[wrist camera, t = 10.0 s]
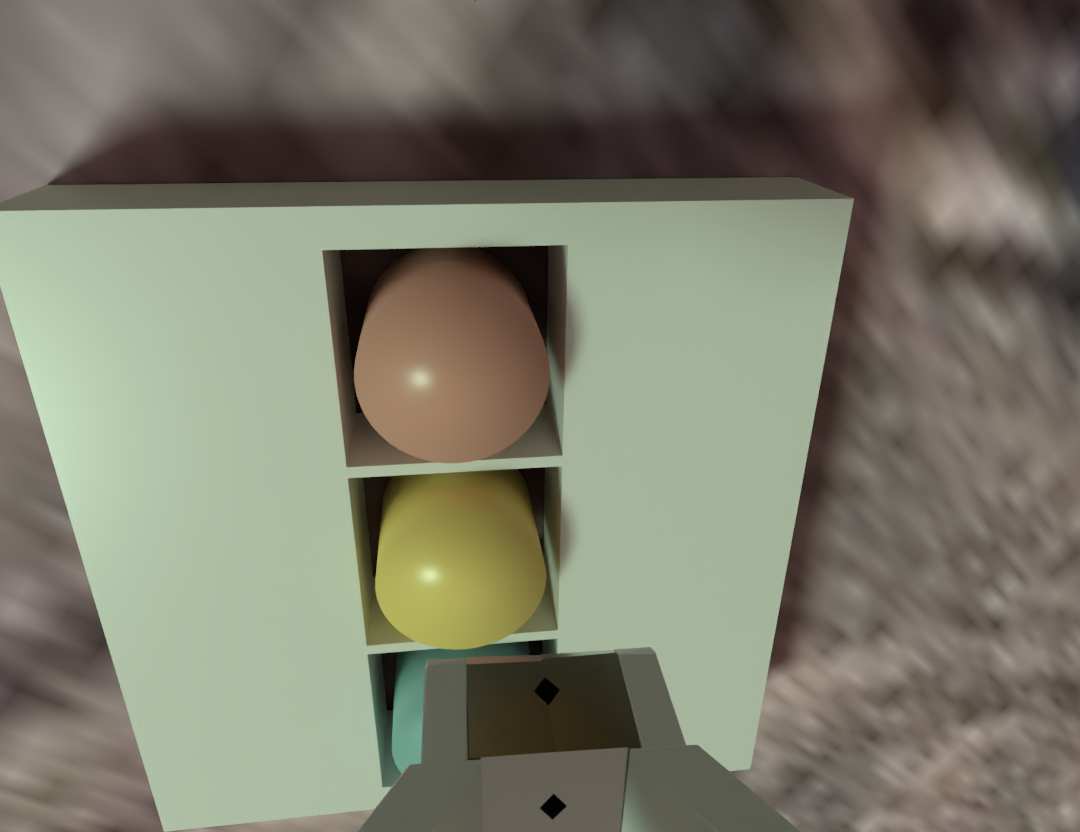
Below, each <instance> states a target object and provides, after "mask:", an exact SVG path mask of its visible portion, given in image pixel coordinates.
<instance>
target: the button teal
mask: <svg viewBox="0 0 1080 832" xmlns="http://www.w3.org/2000/svg"><path fill="white" fill-rule="evenodd" d="M524 655H531V654H530V649H529V643H528V641H522V642H510V643H498V644H488V645H485V646H481V647H477V648H471V649H458V650H452V649H441V648H438V649H426V650H414V651H402V652H396V667H395V688H394V708H393V729H392V755H393V759H394V762H395V764H396V766H397V768H398V769H399V771H400V772H401V773H403V772H404V770H405V769H406V768H407V767H408V765H410V764H421V749H422V726H423V702H424V679H425V666H426V662H427V659H463V658H465V661H466V657H493V656H524ZM466 688H467V671H466Z"/></svg>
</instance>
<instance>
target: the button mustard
mask: <svg viewBox="0 0 1080 832" xmlns="http://www.w3.org/2000/svg"><path fill="white" fill-rule="evenodd" d="M545 586H546V567H545V563H544V559H543V554H542V550H541V545H540V541H539V536H538V532H537V527H536V523H535V519H534V514H533V510H532V505H531V501H530V496H529V492H528V488H527V485H526V482H525V480H524V478H523V476H522V474H521V473H520V471H519V470H518V469H505V470H487V471H469V472H452V473H434V474H416V475H398V476H392V477H391V479H390V480H389V482H388V485H387V487H386V490H385V493H384V497H383V504H382V514H381V525H380V536H379V546H378V557H377V568H376V578H375V591H376V596H377V600H378V603H379V606H380V608H381V610H382V612H383V614H384V615H385V617H386V618H387V619H388V621H389V622H390V623H391V624H392V625H393V626H394V627H395V628H396V629H397V630H398V631H400V632H401V633H402V634H404V635H405V636H407V637H409V638H410V639H412V640H414V641H416V642H419V643H421V644H424V645H427V646H431V647H435V648H441V649H452V650H458V649H471V648H477V647H481V646H485V645H488V644H491V643H494V642H497V641H499V640H501V639H503V638H505V637H507V636H508V635H510V634H512V633H513V632H515V631H516V630H517V629H519V628H520V627H521V626H522V625H523V624H524V623H526V622H527V621H528V620H529V618H530V617H531V616H532V615H533V613H534V612H535V611H536V609H537V607H538V606H539V604H540V602H541V599H542V597H543V594H544V590H545Z"/></svg>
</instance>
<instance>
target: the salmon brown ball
mask: <svg viewBox="0 0 1080 832" xmlns="http://www.w3.org/2000/svg"><path fill="white" fill-rule="evenodd" d="M549 378H550V369H549V359H548V354H547V350H546V347H545V344H544V341H543V339H542V336H541V334H540V331H539V328H538V326H537V323H536V321H535V318H534V315H533V313H532V310H531V308H530V305H529V302H528V300H527V297H526V295H525V292H524V290H523V288H522V286H521V284H520V283H519V281H518V280H517V278H516V277H515V275H514V274H513V273H512V272H511V271H510V270H509V269H508V267H507V266H505V265H504V264H503V263H502V262H501V261H499V260H498V259H497V258H495V257H493V256H492V255H490V254H489V253H486V252H484V251H482V250H480V249H477V248H474V247H454V248H418V249H415V250H413V251H411V252H409V253H407V254H405V255H403V256H402V257H400V258H399V259H397V260H396V261H395V262H393V263H392V264H391V265H390V266H389V267H388V268H387V269H386V270H385V271H384V272H383V274H382V275H381V276H380V277H379V279H378V281H377V282H376V284H375V286H374V287H373V290H372V292H371V294H370V297H369V300H368V304H367V308H366V313H365V317H364V322H363V326H362V331H361V335H360V340H359V344H358V349H357V353H356V358H355V366H354V384H355V389H356V395H357V398H358V401H359V404H360V406H361V408H362V410H363V413H364V415H365V416H366V418H367V419H368V421H369V422H370V424H371V425H372V427H373V428H374V429H375V430H376V431H377V432H378V433H379V435H381V436H382V437H383V438H384V439H385V440H386V441H387V442H389V443H390V444H391V445H393V446H394V447H396V448H397V449H399V450H401V451H403V452H405V453H407V454H409V455H411V456H414V457H417V458H419V459H423V460H427V461H431V462H438V463H464V462H471V461H475V460H480V459H483V458H486V457H489V456H491V455H494V454H496V453H498V452H500V451H502V450H504V449H505V448H507V447H508V446H510V445H511V444H513V443H514V442H515V441H516V440H518V439H519V438H520V437H521V436H522V435H523V434H524V433H525V432H526V431H527V430H528V429H529V428H530V427H531V425H532V424H533V422H534V421H535V420H536V418H537V416H538V415H539V413H540V411H541V409H542V407H543V404H544V402H545V399H546V396H547V392H548V387H549Z"/></svg>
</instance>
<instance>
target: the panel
mask: <svg viewBox="0 0 1080 832" xmlns="http://www.w3.org/2000/svg"><path fill="white" fill-rule="evenodd" d="M853 202H854V198H851V197H848V196H846V195H843V194H840V193H838V192H835V191H832V190H830V189H827V188H825V187H822V186H819V185H817V184H814V183H811V182H809V181H806V180H803V179H801V178H798V177H750V178H657V179H564V180H471V181H378V182H285V183H192V184H99V185H44V186H42V187H39V188H37V189H34V190H31V191H29V192H26V193H24V194H21V195H19V196H16V197H13V198H11V199H8V200H6V201H3V202H1V203H0V287H1V290H2V293H3V297H4V300H5V303H6V307H7V310H8V313H9V317H10V320H11V323H12V327H13V330H14V333H15V337H16V340H17V343H18V347H19V350H20V353H21V357H22V360H23V363H24V367H25V370H26V373H27V377H28V380H29V383H30V387H31V390H32V393H33V397H34V400H35V403H36V407H37V410H38V413H39V417H40V420H41V423H42V427H43V430H44V433H45V437H46V440H47V443H48V447H49V450H50V453H51V457H52V460H53V463H54V467H55V470H56V473H57V477H58V480H59V483H60V487H61V490H62V493H63V497H64V500H65V503H66V507H67V510H68V513H69V517H70V520H71V523H72V527H73V530H74V533H75V537H76V540H77V543H78V547H79V550H80V553H81V557H82V560H83V563H84V567H85V570H86V573H87V577H88V580H89V583H90V587H91V590H92V593H93V597H94V600H95V603H96V607H97V610H98V613H99V617H100V620H101V623H102V627H103V630H104V633H105V637H106V640H107V643H108V647H109V650H110V653H111V657H112V660H113V663H114V667H115V670H116V673H117V677H118V680H119V683H120V687H121V690H122V693H123V697H124V700H125V703H126V707H127V710H128V713H129V717H130V720H131V723H132V727H133V730H134V733H135V737H136V740H137V743H138V747H139V750H140V753H141V757H142V760H143V763H144V767H145V770H146V773H147V777H148V780H149V783H150V787H151V790H152V793H153V797H154V800H155V804H156V807H157V810H158V814H159V817H160V820H161V824H162V827H163V830H164V832H165V831H175V830H184V829H193V828H203V827H212V826H222V825H231V824H240V823H250V822H259V821H268V820H278V819H287V818H296V817H306V816H315V815H324V814H334V813H343V812H352V811H362V810H371V809H375V808H376V807H377V805H378V804H379V803H380V801H381V800H382V799H383V797H384V796H385V795H386V794H387V792H388V791H389V790H390V788H391V787H392V786H393V785H394V783H395V782H396V781H397V779H398V778H399V777H400V776H401V774H402V773H401V772H400V771H399V769H398V768H397V766H396V764H395V762H394V759H393V755H392V729H393V710H387V706H386V696H385V686H384V676H383V667H382V657H381V653H390V652H402V651H414V650H426V649H438V648H435V647H431V646H427V645H424V644H421V643H419V642H416V641H414V640H412V639H410V638H409V637H407V636H405V635H404V634H402V633H401V632H400V631H398V630H397V629H396V628H395V627H394V626H393V625H392V624H391V623H390V622H389V621H388V619H387V618H386V617H385V615H384V614H383V612H382V610H381V608H380V606H379V603H378V600H377V596H376V591H375V578H376V577H373V569H372V559H371V549H370V540H369V530H368V520H367V510H366V500H365V491H364V481H363V477H380V476H398V475H416V474H434V473H452V472H469V471H487V470H505V469H523V468H541V467H545V496H544V563H545V567H546V586H545V590H544V594H543V597H542V599H541V602H540V604H539V606H538V607H537V609H536V611H535V612H534V613H533V615H532V616H531V617H530V618H529V620H528V621H527V622H526V623H524V624H523V625H522V626H521V627H520V628H519V629H517V630H516V631H515V632H513V633H512V634H510V635H508V636H507V637H505V638H503V639H501V640H499V641H497V642H494V643H491V644H498V643H510V642H522V641H534V640H542V654H557V653H572V652H588V651H603V650H612V651H614V649H628V648H642V647H651V648H652V649H653V650H654V651H655V653H656V656H657V659H658V662H659V665H660V668H661V671H662V674H663V677H664V680H665V683H666V686H667V689H668V692H669V695H670V698H671V701H672V704H673V707H674V710H675V713H676V716H677V719H678V722H679V725H680V728H681V731H682V734H683V737H684V740H685V743H686V745H699V746H700V747H701V748H702V749H703V750H705V751H706V752H707V753H708V754H709V755H710V756H712V757H713V758H714V759H715V760H716V761H718V762H719V763H720V764H721V765H722V766H723V767H725V768H726V769H727V770H728V771H735V770H745V769H750V767H751V762H752V756H753V751H754V745H755V740H756V734H757V729H758V723H759V718H760V712H761V707H762V701H763V696H764V690H765V685H766V679H767V674H768V668H769V663H770V657H771V652H772V646H773V641H774V635H775V630H776V625H777V619H778V614H779V608H780V603H781V597H782V592H783V586H784V581H785V575H786V570H787V564H788V559H789V553H790V548H791V542H792V537H793V531H794V526H795V520H796V515H797V509H798V504H799V498H800V493H801V487H802V482H803V476H804V471H805V465H806V460H807V454H808V449H809V443H810V438H811V432H812V427H813V421H814V416H815V411H816V405H817V400H818V394H819V389H820V383H821V378H822V372H823V367H824V361H825V356H826V350H827V345H828V339H829V334H830V328H831V323H832V317H833V312H834V306H835V301H836V295H837V290H838V284H839V279H840V273H841V268H842V262H843V257H844V251H845V246H846V240H847V235H848V229H849V224H850V218H851V213H852V207H853ZM502 246H548V297H547V354H548V359H549V369H550V378H549V387H548V392H547V396H546V404H543V407H542V409H541V411H540V413H539V415H538V416H537V418H536V420H535V421H534V422H533V424H532V425H531V427H530V428H529V429H528V430H527V431H526V432H525V433H524V434H523V435H522V436H521V437H520V438H519V439H518V440H516V441H515V442H514V443H513V444H511V445H510V446H508V447H507V448H505V449H504V450H502V451H500V452H498V453H496V454H494V455H491V456H489V457H486V458H483V459H480V460H475V461H471V462H464V463H438V462H431V461H427V460H423V459H419V458H417V457H414V456H411V455H409V454H407V453H405V452H403V451H401V450H399V449H397V448H396V447H394V446H393V445H391V444H390V443H389V442H387V441H386V440H385V439H384V438H383V437H382V436H381V435H379V433H378V432H377V431H376V430H375V429H374V428H373V427H372V425H371V424H370V422H369V421H368V419H367V418H366V416H365V415H364V413H356V403H355V393H354V383H353V373H352V364H351V354H350V344H349V334H348V325H347V315H346V305H345V295H344V286H343V276H342V266H341V256H340V250H360V249H407V248H454V247H502Z"/></svg>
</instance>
